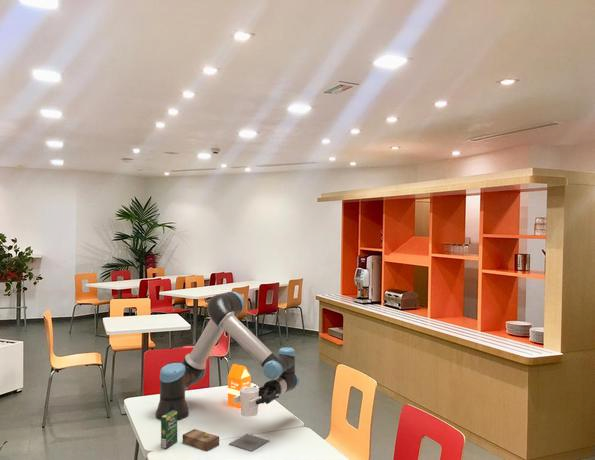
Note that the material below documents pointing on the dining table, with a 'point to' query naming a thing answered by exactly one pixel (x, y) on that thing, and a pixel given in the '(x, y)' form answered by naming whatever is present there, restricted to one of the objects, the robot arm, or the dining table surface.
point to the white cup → (245, 397)
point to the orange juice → (237, 382)
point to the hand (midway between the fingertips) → (242, 402)
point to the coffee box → (169, 429)
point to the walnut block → (201, 440)
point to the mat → (249, 442)
